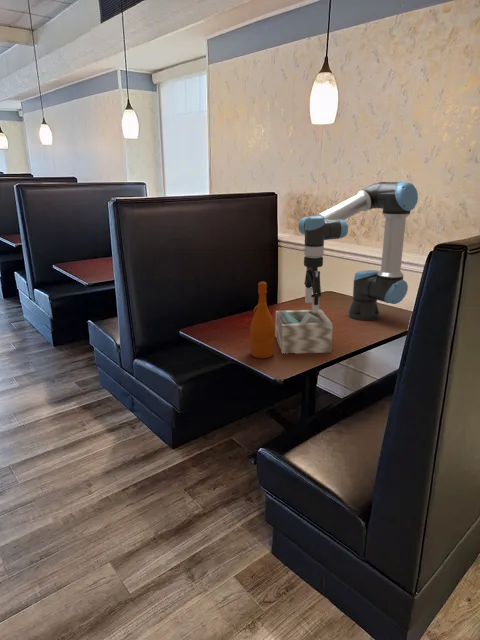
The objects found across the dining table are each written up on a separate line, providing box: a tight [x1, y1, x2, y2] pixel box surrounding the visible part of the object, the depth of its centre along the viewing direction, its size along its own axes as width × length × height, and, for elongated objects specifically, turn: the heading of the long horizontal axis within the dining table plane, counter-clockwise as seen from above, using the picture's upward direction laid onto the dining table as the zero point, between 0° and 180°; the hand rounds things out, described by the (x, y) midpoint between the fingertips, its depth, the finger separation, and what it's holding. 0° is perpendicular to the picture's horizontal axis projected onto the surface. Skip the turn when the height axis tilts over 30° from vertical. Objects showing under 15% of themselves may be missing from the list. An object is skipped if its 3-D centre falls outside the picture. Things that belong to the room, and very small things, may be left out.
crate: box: [275, 308, 333, 355], centre depth 182 cm, size 20×20×12 cm
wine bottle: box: [249, 281, 276, 359], centre depth 169 cm, size 10×10×30 cm
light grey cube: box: [300, 312, 322, 323], centre depth 181 cm, size 6×6×6 cm
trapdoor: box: [283, 310, 300, 324], centre depth 181 cm, size 14×14×1 cm
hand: (311, 307), depth 179 cm, fingers open, 13 cm apart
